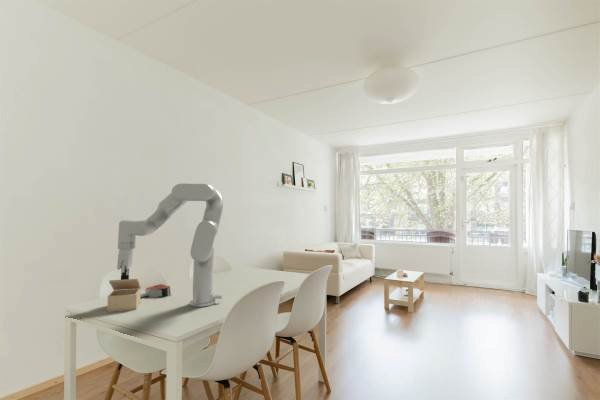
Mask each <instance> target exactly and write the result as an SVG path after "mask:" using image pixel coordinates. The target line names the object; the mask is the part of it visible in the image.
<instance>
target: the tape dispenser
mask: <svg viewBox="0 0 600 400" xmlns="http://www.w3.org/2000/svg"><path fill="white" fill-rule="evenodd" d="M171 292H172V291H171V286H170V285H166V284H163V283H159V284H156V285H152V286H149V287H148V286H147V287H146V288H145V290H144V291H140V299H141V298H143V297H146V296H147V297H150V298H158V297H160V296H161V297H162V298H165V297H166V296H167V297H171V296H172V294H171Z"/></svg>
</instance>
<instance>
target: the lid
mask: <svg viewBox="0 0 600 400" xmlns="http://www.w3.org/2000/svg"><path fill="white" fill-rule="evenodd" d="M108 282H109V284H110V286H111V287H112V289H113V291H114V290H129V289H141V287H142V286H141V284H140V282H139V278H129V279H125V280H121V279H113V280H112V279H110V280H108Z"/></svg>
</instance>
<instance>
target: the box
mask: <svg viewBox="0 0 600 400" xmlns="http://www.w3.org/2000/svg"><path fill="white" fill-rule="evenodd" d="M140 293H141V288H140V289H124V290H114V289H113V290H112V292H110V294H109V295H108V296H107V308H106V312H107V313H109V312H121V311H124V312H125V311H132V310H133V311H134V310H137V309H138V307H139V306H140V304H141V298H140Z"/></svg>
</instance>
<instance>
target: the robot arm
mask: <svg viewBox="0 0 600 400" xmlns="http://www.w3.org/2000/svg"><path fill="white" fill-rule="evenodd" d="M188 202H205V204H206V206H205V209H204V211H203V212H204V213H203V217H202V220H201V222H199V223H198V225H197V226H196V229H195V230H194V231H195V233H194V236H193V240H192V244H191V246H190V253H189V254H190V257H191V258H192V259H193V267H192V268H193V270H192V299H191V300H190V301H189V306H192V307H194V308H195V307H196V308H200V307H204V308H205V307H209V306H212V305H214V304H216V300H222V297H223V296H222V294H214V293H213V292H214V291H213V282H214V281H213V280H214V279H213V278H214V276H213V275H214V274H213V273H214V256H215V255H214V254H215V252H214V251H215V250H214V248H215V247H214V246H213V245H214V242H215V239H216V236H217V235H218V231H219V226H220V222H221V218H222V213H223V208H224V200H223V197H222V195H221V193H220V192H219V191H218V190H217V189H216V188H215V187H214V186H213V185H210V184H207V183H182V182H181V183H177V184H175V185H174V186H172V188H171V193H169V194H168V195H167V196H166V197H164V199H162V200H161V201H160V202H159V203H158V205H157V209H156V210H155V211H154V212H153V213H152V214H151V215H150V216H149V217H147V219H145V220H144V219H143V220H137V221H136V220H120V221H119V222H118V235H117V237H118V238H117V249H118V253H117V255H118V256H117V264H116V269H117V271H119V270H121V271H120V280H125V279H130V268H132V266H133V253H134V251H133V250H135V248H136V237H137V236H138V237H140V236H141V237H143V236H145V237H146V236H148V235H149V236H150V235H152V234H153V233H155V232H156V231H157V230H159V228H160V227H162V226H163V225H164V224H165V223H166V222H167V221H168V220H169V219H170V218H171V217H172V216H173V215H174V214H175V213H176V212H177V211H178V210H180V209H181V208H182V207H183V206H184V205H186V204H187V203H188Z"/></svg>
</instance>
